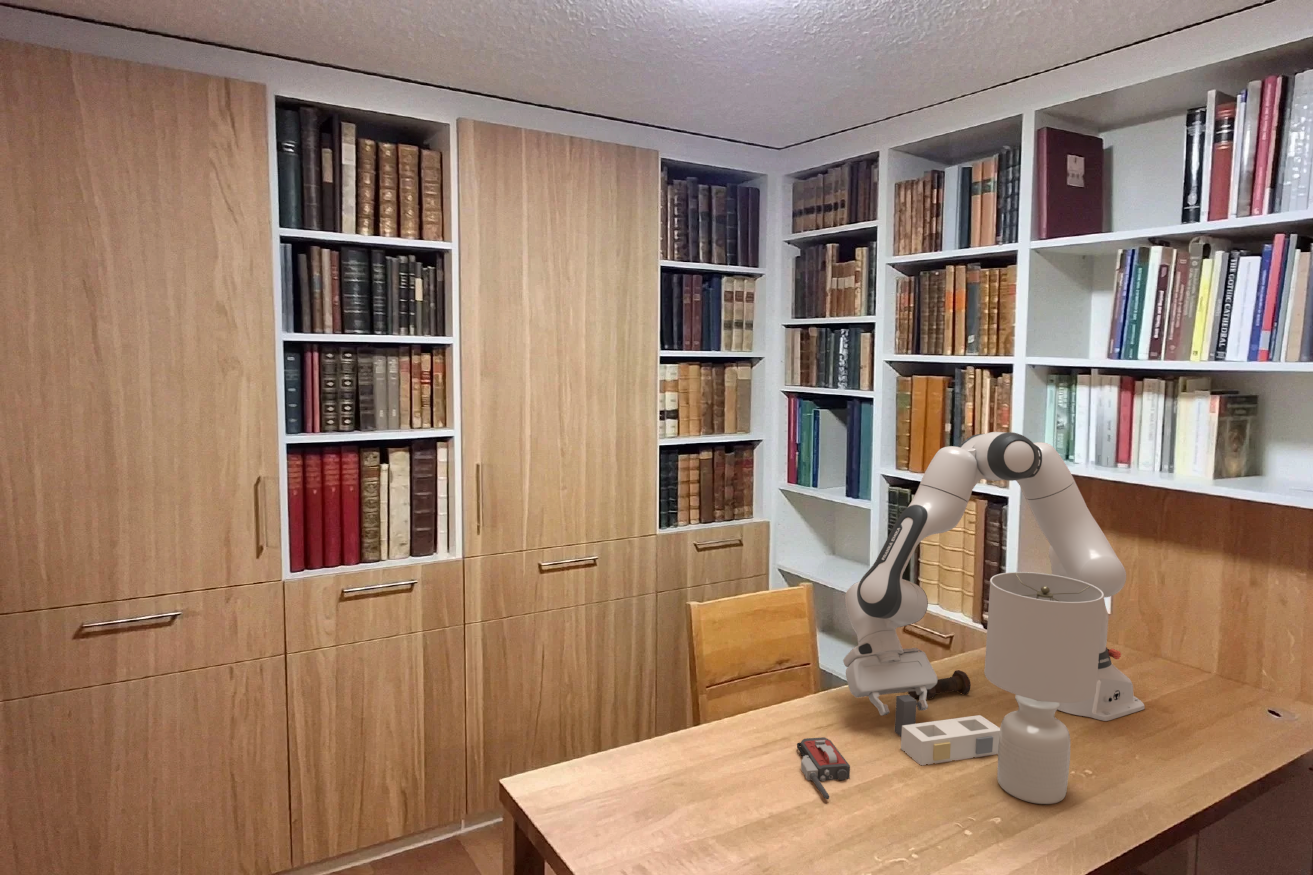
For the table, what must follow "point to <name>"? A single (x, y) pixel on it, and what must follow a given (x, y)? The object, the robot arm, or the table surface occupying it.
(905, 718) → the plug
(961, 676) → the bolt
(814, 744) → the walkie-talkie
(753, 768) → the table surface
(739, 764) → the table surface
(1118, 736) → the table surface
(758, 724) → the table surface
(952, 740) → the white socket block
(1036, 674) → the lamp
